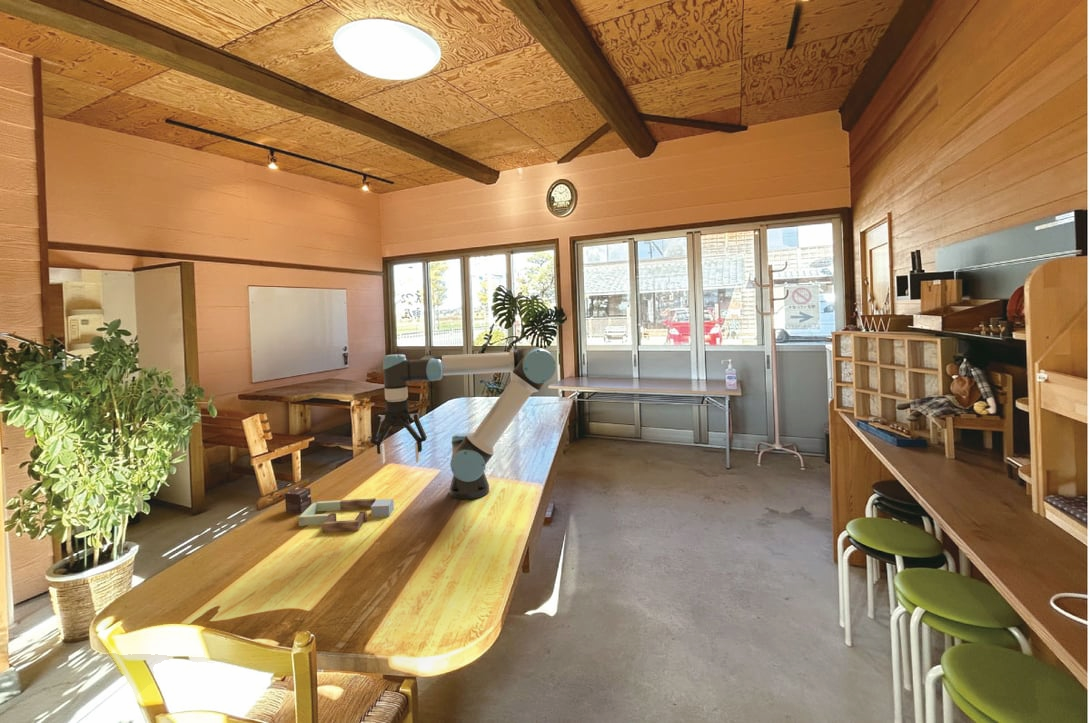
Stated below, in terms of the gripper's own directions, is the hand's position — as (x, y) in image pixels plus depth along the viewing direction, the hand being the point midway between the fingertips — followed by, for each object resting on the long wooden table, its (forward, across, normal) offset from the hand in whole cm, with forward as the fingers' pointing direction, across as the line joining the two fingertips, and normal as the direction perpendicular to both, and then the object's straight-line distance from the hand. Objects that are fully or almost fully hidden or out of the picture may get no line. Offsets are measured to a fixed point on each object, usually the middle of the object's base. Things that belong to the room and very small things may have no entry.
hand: (400, 461), depth 162 cm
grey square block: (+18, +7, 0) cm, 19 cm away
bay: (+18, +27, 0) cm, 32 cm away
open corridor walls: (+18, +17, +3) cm, 25 cm away
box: (+18, +38, -7) cm, 43 cm away
